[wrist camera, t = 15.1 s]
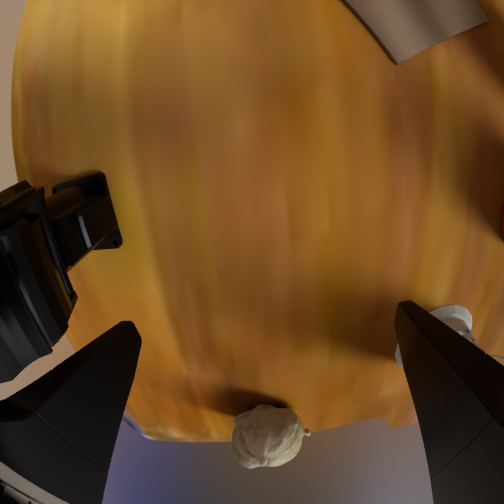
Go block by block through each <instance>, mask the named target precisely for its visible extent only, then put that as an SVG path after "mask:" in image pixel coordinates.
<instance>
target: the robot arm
mask: <svg viewBox="0 0 504 504" xmlns="http://www.w3.org/2000/svg"><path fill="white" fill-rule="evenodd" d="M99 177H100V179H101V181H99ZM56 190H57V191H56ZM44 194H45V191H44V187H43V186H42V187H38V188H35V187H32V186H31V185H30V184H29V183H28V182H27V181H26V180H25V181H21V182H19V183H17V184H15V185H13V186H11V187H9V188H7V189H5V190H3V191H1V192H0V383H4V382H8V381H11V380H13V379H14V378H15V377H16V376H17V375H18V374H19V373H20V372H21V371H22V370H23V369H24V368H25V367H26V366H28V365H29V364H30V363H32V362H33V361H35V360H37V359H38V358H40V357H43V356H45V355H48V354H50V353H52V351H53V350H52V348H51V347H52V346H54V345H55V344H56V343H57V342H58V341H59V340H60V339H61V337H62V336H63V335H64V334H65V332H66V331H67V329H68V327H69V325H68V321H69V318H70V316H71V313H72V311H73V308H74V306H75V304H76V301H77V299H78V296H77V294H76V292H75V291H74V290H73V287H72V285H71V282H70V279H69V277H68V274H67V272H68V271H69V270H71V269H72V268H73V267H74V266H75V265H76V264H77V263H78V262H79V261H80V260H82V259H83V258H84V257H85V256H86V255H87V254H88V253H89V252H91V251H92V250H101V249H114V248H119V247H120V246H121V245H122V243H123V241H122V237H121V234H120V231H119V227H118V223H117V220H116V216H115V212H114V209H113V205H112V201H111V198H110V194H109V190H108V185H107V181H106V177H105V175H104V174H103V173H102V172H99V173H95V174H91V175H88V176H84V177H81V178H77V179H74V180H71V181H67V182H64V183H61V184H58V185H55V186H53V187H52V196H50V197H48V198H46V199H45V197H44ZM115 240H116V241H117V242H118V243H116V241H115ZM394 324H395V331H396V335H397V340H398V344H399V349H400V354H401V359H402V364H403V368H404V372H405V375H406V378H407V382H408V385H409V388H410V392H411V395H412V399H413V403H414V406H415V410H416V414H417V418H418V422H419V426H420V430H421V434H422V438H423V442H424V448H425V452H426V457H427V463H428V468H429V473H430V477H431V478H430V480H431V487H432V494H433V501H434V504H504V366H503V365H502V364H500V363H499V362H498V361H496V360H495V359H494V358H492V357H491V356H490V355H488V354H485V352H484V351H483V350H481V349H480V348H479V347H477V346H476V345H474V344H473V343H472V342H470V341H469V340H468V339H466V338H465V337H463V336H462V335H461V334H459V333H458V332H456V331H455V330H454V329H452V328H451V327H449V326H448V325H446V324H445V323H444V322H442V321H441V320H439V319H438V318H436V317H435V316H433V315H432V314H430V313H429V312H428V311H426V310H425V309H423V308H422V307H420V306H419V305H417V304H416V303H414V302H413V301H411V300H407V301H401V302H399V303H398V306H397V311H396V317H395V323H394ZM141 344H142V339H141V336H140V334H139V332H138V331H137V329H136V327H135V325H134V323H133V322H132V321H121V322H119V323H118V324H117V325H115V326H114V327H112V328H111V329H109V330H108V331H106V332H105V333H103V334H102V335H100V336H99V337H98V338H96V339H95V340H93V341H92V342H90V343H89V344H87V345H86V346H85V347H83V348H82V349H80V350H79V351H77V352H76V353H75V354H73V355H72V356H70V357H69V358H67V359H66V360H64V361H63V362H62V363H60V364H59V365H57V366H56V367H55V368H53V370H50V371H49V372H47V373H46V374H45V375H43V376H42V377H40V378H39V379H37V380H36V381H34V382H33V383H31V384H29V385H28V386H26V387H25V388H23V389H21V390H20V391H18V392H16V393H15V394H13V395H11V396H10V397H8V398H6V399H4V400H1V401H0V504H102V500H103V495H104V490H105V485H106V481H107V476H108V470H109V467H110V462H111V458H112V454H113V450H114V446H115V442H116V439H117V435H118V431H119V427H120V423H121V420H122V417H123V413H124V410H125V406H126V403H127V400H128V396H129V393H130V390H131V387H132V383H133V380H134V376H135V372H136V367H137V362H138V358H139V353H140V349H141Z"/></svg>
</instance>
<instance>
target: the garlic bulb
mask: <svg viewBox="0 0 504 504" xmlns="http://www.w3.org/2000/svg"><path fill="white" fill-rule="evenodd" d="M234 422H235V424H236V426H235V428H234V431H233V435H232V448H233V451H234V454H235V456H236V459H237V460H238V461H239V463H240V464H241V465H242V466H244V467H247V468H255V467H258V466H279V465H282V464H284V463H286V462H288V461H289V460H291V459H292V458H293V457H295V456H296V454H297V453H298V451H299V449H300V447H301V445H302V437H303V436H304V435H307V436H310V434H311V433H310V430H309V429H307V428H306V429H304V428H303V425H302V423H301V421H300V418H299V417H298V416H297V415H296V414H295V413H294V410H293V408H276V407H274V406H273V405H264V404H260V405H258V406H257V407H255V408H254V409H252V410H249V411H247V412H244V413H242V414H240V415H238V416H237V417H236V418H235V420H234Z"/></svg>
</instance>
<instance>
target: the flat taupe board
mask: <svg viewBox="0 0 504 504" xmlns="http://www.w3.org/2000/svg"><path fill="white" fill-rule="evenodd" d="M343 1H344V2H345V3H346V4H347V5H348V6H349V7H350V8H351V10H352V11H353V12H354V13H355V14H356V15H357V16H358V17H359V18H360V19H361V21H362V22H363V23H364V24H365V25H366V26H367V28H368V29H369V30H370V31H371V32H372V34H373V35H374V36H375V37H376V39H377V40H378V41H379V42H380V44H381V45H382V46H383V47H384V49H385V50H386V51H387V53H388V54H389V56H390V57H391V58H392V60H393V61H394V63H395V64H396V65H397V64H399V63H401V62H403V61H405V60H406V59H408V58H410V57H412V56H414V55H416V54H418V53H420V52H422V51H424V50H425V49H427V48H429V47H431V46H433V45H435V44H437V43H440V42H442V41H444V40H446V39H448V38H450V37H452V36H454V35H457V34H459V33H461V32H463V31H465V30H468V29H470V28H472V27H475V26H477V25H480V24H482V23H485V22H487V21H489V19H488V17H487V16H486V14H485V13H484V11H483V10H482V8H481V7H480V5H479V4H478V3H477V1H476V0H343Z"/></svg>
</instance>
